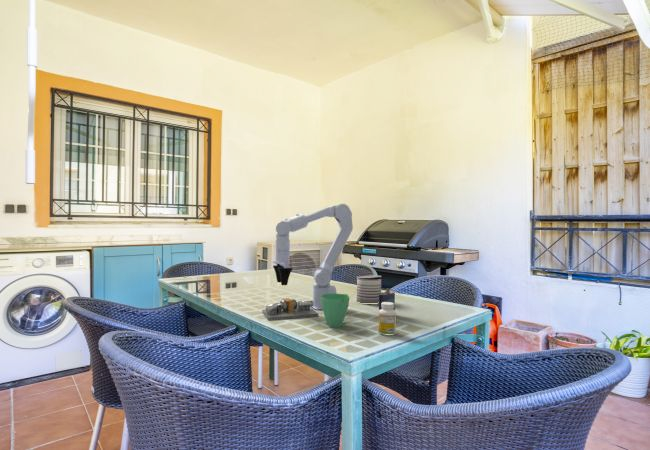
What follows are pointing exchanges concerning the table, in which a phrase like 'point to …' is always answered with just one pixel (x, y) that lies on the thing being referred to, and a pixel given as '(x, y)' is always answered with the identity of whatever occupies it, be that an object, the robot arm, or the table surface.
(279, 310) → the shaft
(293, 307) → the coupler
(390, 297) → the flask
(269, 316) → the base board
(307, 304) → the shaft
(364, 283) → the can
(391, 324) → the supplement bottle
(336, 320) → the green cup
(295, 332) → the table surface
